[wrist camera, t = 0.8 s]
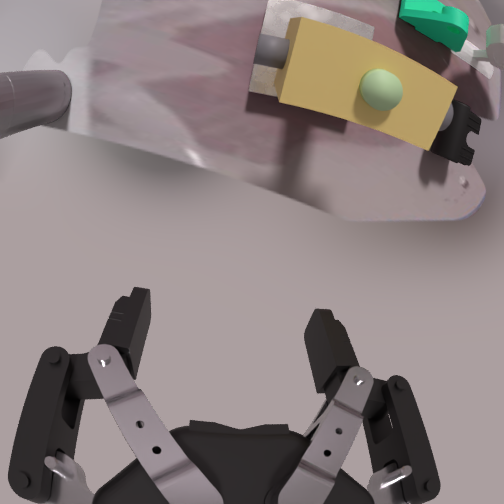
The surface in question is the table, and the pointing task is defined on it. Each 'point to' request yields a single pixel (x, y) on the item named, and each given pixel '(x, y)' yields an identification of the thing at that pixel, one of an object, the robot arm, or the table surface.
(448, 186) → the table surface
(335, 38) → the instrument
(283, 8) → the grey metal base plate
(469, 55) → the heart sculpture
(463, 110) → the end cap
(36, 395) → the robot arm
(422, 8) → the camera mount
